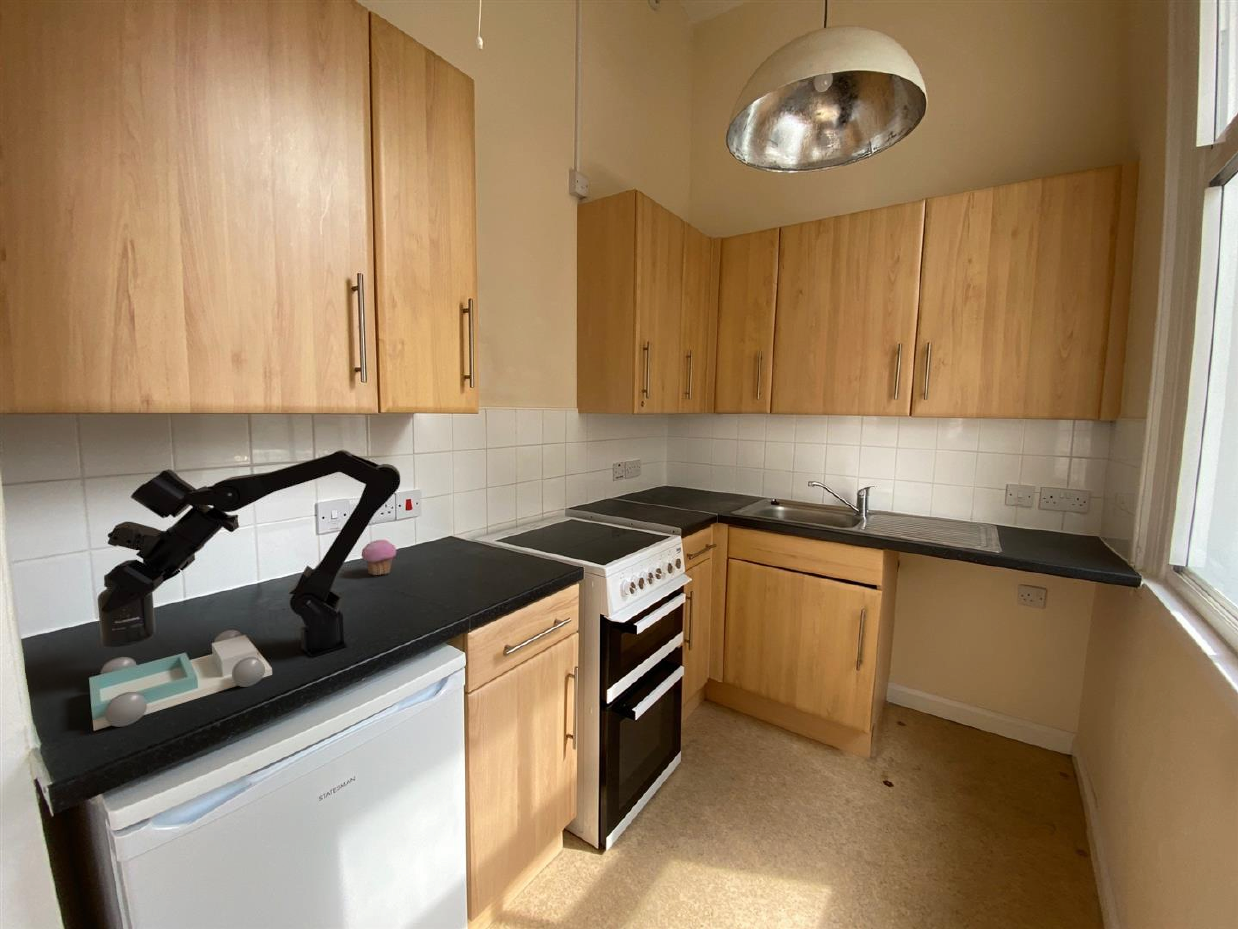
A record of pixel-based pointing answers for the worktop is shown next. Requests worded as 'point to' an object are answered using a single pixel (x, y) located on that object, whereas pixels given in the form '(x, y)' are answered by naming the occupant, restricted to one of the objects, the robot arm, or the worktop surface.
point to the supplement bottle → (125, 620)
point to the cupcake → (379, 556)
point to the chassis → (172, 680)
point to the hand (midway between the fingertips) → (115, 604)
